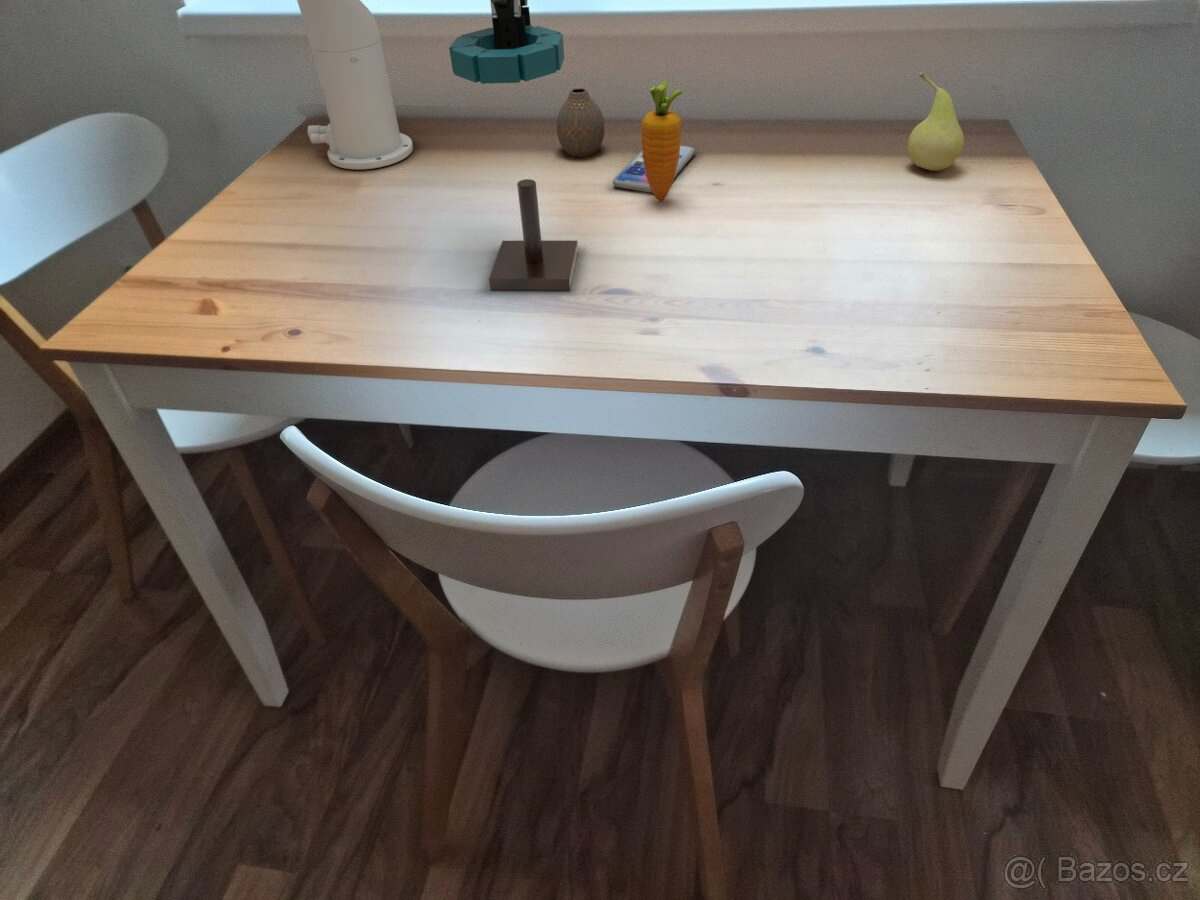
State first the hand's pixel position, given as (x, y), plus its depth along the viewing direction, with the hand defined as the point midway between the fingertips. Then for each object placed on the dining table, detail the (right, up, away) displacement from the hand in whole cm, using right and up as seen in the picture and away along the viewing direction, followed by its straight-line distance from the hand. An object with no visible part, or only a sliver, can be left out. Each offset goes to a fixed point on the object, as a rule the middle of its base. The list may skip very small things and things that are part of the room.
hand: (515, 52), depth 84 cm
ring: (0, -3, -3) cm, 4 cm away
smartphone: (+17, -2, +29) cm, 33 cm away
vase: (+6, +2, +35) cm, 35 cm away
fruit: (+53, -3, +26) cm, 59 cm away
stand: (+1, -21, +9) cm, 23 cm away
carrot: (+17, -9, +21) cm, 29 cm away
